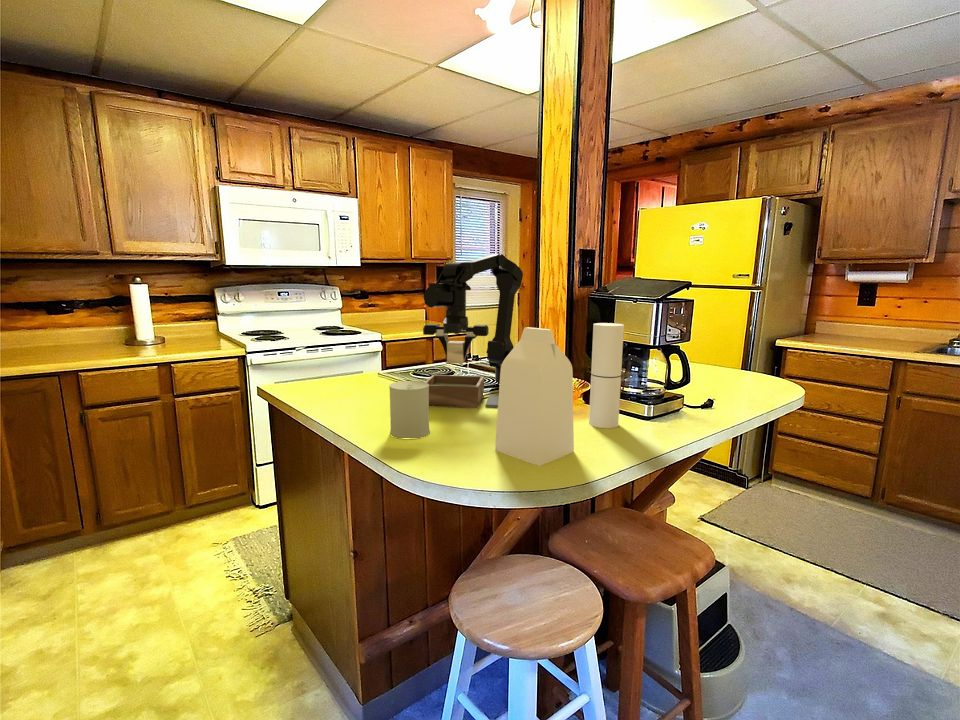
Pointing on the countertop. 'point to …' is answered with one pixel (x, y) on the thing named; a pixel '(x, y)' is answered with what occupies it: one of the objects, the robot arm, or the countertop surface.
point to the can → (409, 409)
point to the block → (455, 352)
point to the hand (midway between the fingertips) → (456, 358)
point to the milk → (535, 400)
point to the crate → (455, 391)
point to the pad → (492, 401)
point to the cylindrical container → (606, 374)
